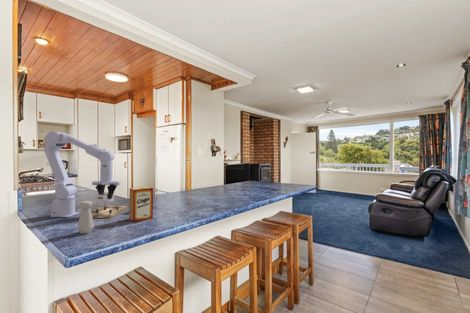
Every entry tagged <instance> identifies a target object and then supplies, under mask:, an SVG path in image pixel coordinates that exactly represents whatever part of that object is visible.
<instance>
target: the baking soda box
mask: <svg viewBox="0 0 470 313" xmlns="http://www.w3.org/2000/svg"><path fill="white" fill-rule="evenodd" d="M128 201H129V203H128V204H129V206H128V207H129V208H128V209H129V214H128V215H129V218H128V219H129V220H130V221H131V222H132V223H133V222H141V221H146V220H151V219H153V218H154V216H153V214H154V188H153V187H151V186H140V187H139V186H138V187H130V188H129V200H128Z"/></svg>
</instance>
